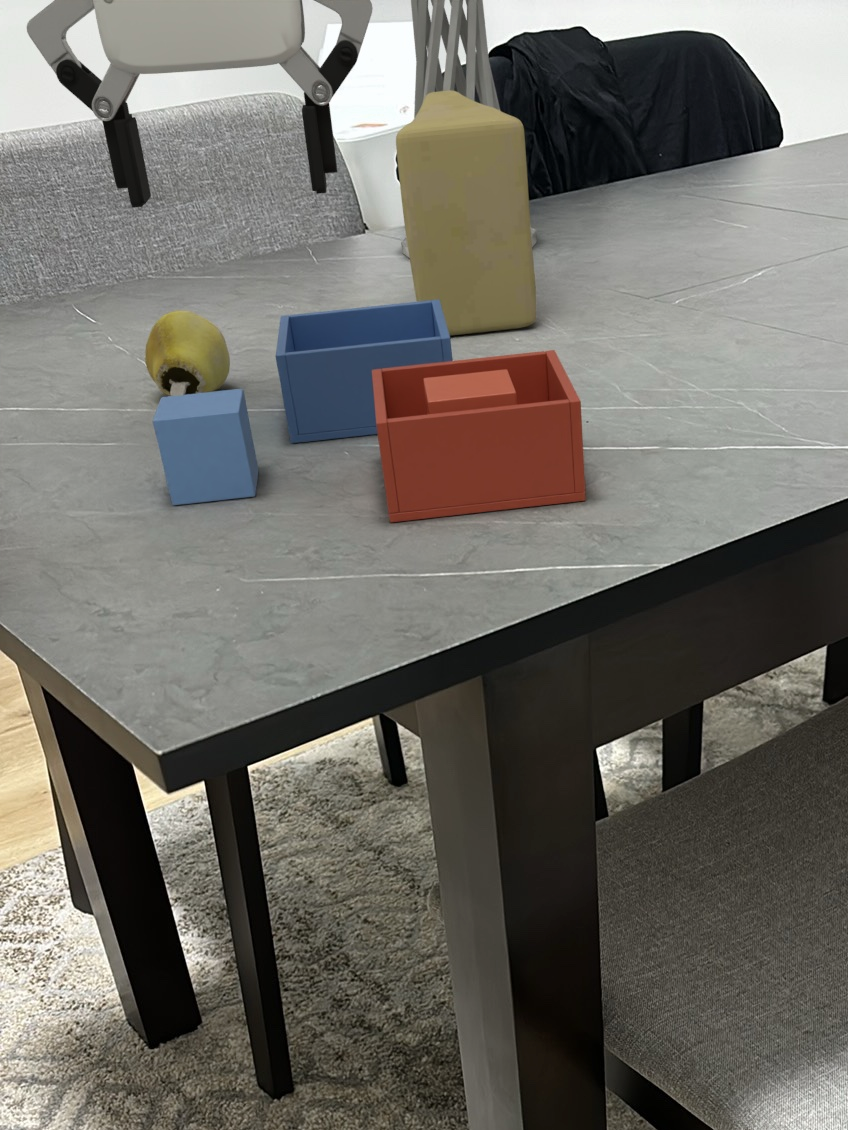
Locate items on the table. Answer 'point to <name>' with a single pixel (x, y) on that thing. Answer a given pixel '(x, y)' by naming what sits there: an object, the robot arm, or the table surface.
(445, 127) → the cheese
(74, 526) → the table surface
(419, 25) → the vase
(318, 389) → the blue bin
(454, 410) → the red block
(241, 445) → the blue block
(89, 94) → the robot arm
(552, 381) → the red bin
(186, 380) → the mushroom
